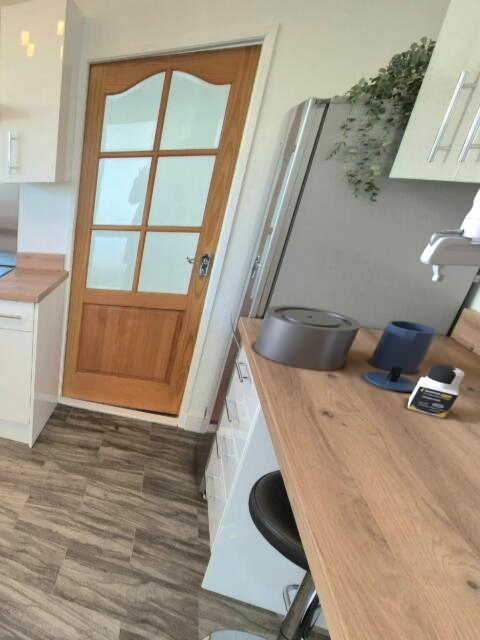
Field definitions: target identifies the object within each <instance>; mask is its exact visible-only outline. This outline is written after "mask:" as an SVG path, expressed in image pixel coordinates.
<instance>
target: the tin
mask: <svg viewBox="0 0 480 640" xmlns="http://www.w3.org/2000/svg"><path fill="white" fill-rule="evenodd" d="M438 332H439V331H438V329H436V328H435V327H433V326H430V325H427V324H423V323H419V322H414V321H409V320H407V321H406V320H389V321H388V322H387V323H386V326H385V328H384V330H383V332H382V334H381V336H380V338H379V340H378V343H377V344H376V347H375V349H374V350H373V353H372V355H371V357H370V360H369V364H371V365H372V366H374V367H375V368H377V369H378V368H379V369H381V370H384V371H388V372H390V371H391V369H392V367H400V368H402V369H403V372H402V374H405V375H412V374H415V373H416V372H417V371H418V369H419V368H420V366H421V364H422V361H423V360H424V358H425V357H426V354H427V353H428V352H429V349H430V347H431V345H432V344H433V342H434V340H435V338H436V336H437V334H438Z"/></svg>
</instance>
